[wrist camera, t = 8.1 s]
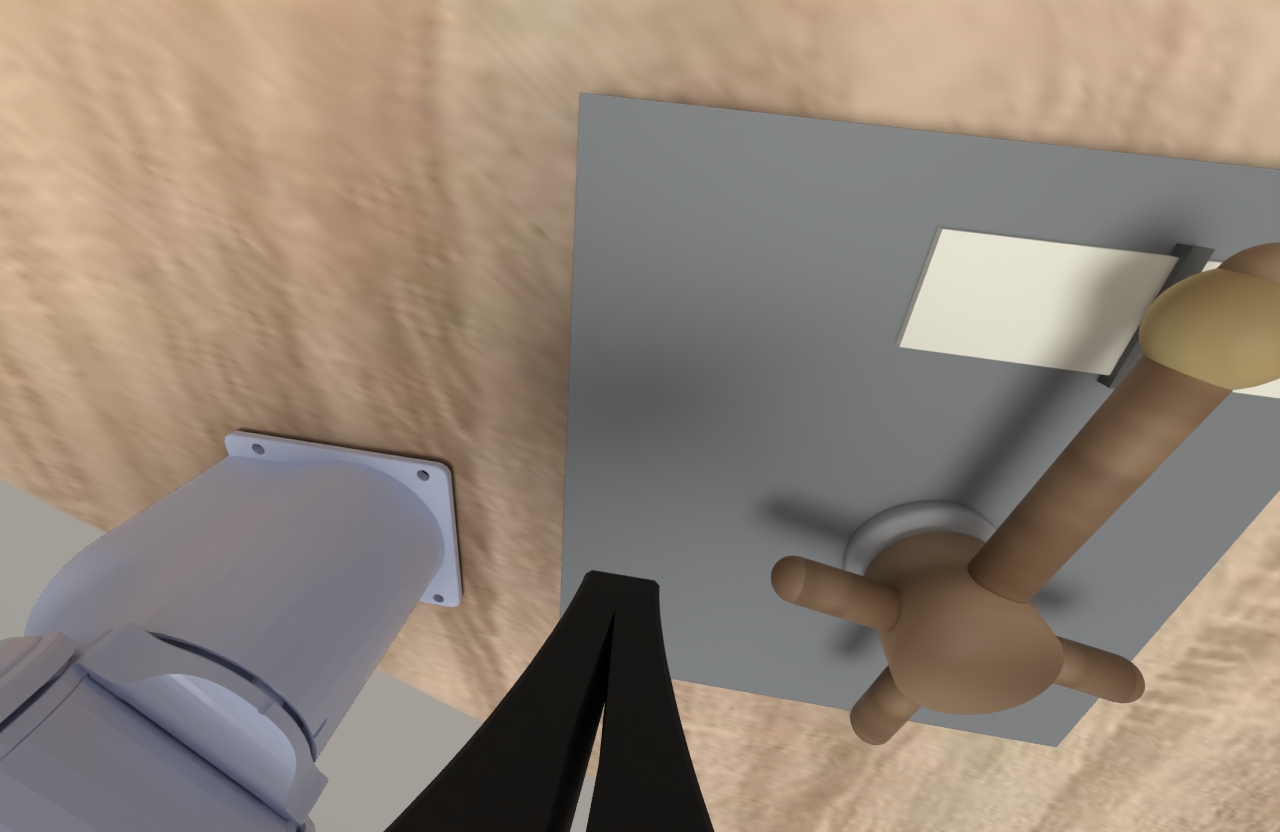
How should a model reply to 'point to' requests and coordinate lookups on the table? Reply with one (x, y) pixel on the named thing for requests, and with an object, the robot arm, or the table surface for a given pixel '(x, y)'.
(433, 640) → the table surface
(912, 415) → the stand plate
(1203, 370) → the capstan dial
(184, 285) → the table surface
